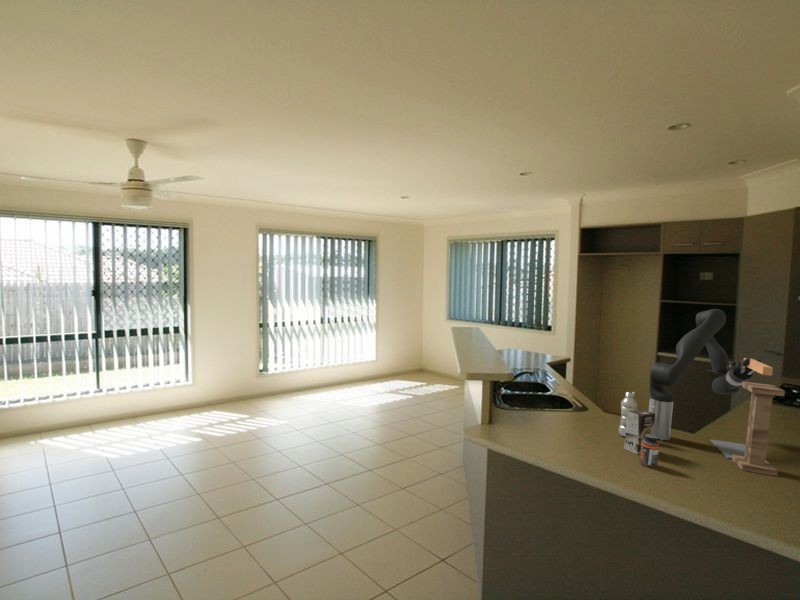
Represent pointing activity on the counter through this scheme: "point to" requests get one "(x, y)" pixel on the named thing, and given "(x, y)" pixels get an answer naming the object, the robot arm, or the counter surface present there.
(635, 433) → the coffee box
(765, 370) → the terracotta bar
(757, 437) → the walnut stand
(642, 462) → the supplement bottle
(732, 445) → the rubber mat
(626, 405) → the plastic bottle
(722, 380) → the robot arm
